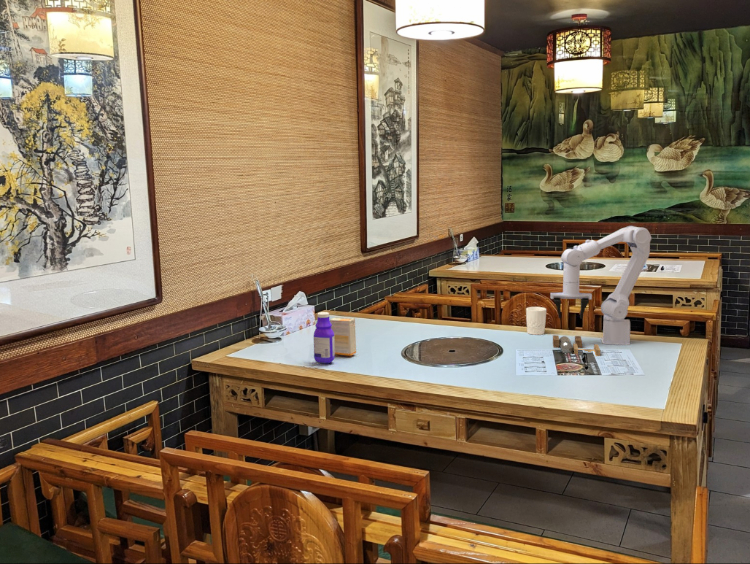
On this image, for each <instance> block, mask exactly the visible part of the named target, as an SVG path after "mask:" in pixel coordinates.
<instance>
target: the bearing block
mask: <svg viewBox="0 0 750 564" xmlns="http://www.w3.org/2000/svg"><path fill="white" fill-rule="evenodd" d="M559 339H560V336H559V335H558V334H557V335H555V334H554V335H552V347H553V349H559V348H560V344H559ZM574 344H577V346H578V349H583V340H582V336H581V335H575V336H574Z"/></svg>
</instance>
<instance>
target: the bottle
mask: <svg viewBox="0 0 750 564" xmlns="http://www.w3.org/2000/svg"><path fill="white" fill-rule="evenodd" d="M316 320H317V321H316V323H315V329H314V332H313V358H314V361H315V362H316V363H324V364H329V363H331V362H333V361H334V360H335V358H336V357H335V355H336V354H335V342H334V332H333V330H332V329H331V326H332V324H331V323H330V320H331V318H330V312H328V311H320V312H318V313H317V319H316Z"/></svg>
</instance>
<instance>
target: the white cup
mask: <svg viewBox="0 0 750 564" xmlns="http://www.w3.org/2000/svg"><path fill="white" fill-rule="evenodd" d="M525 312H526V313H525V314H526V315H525V317H526V332H527V334H528V335H534V336H541V335H544V334H545V331H546V330H545V329H546V328H545V327H546V319H547V308H546V307H543V306H542V307H541V306H529V307H526V308H525Z"/></svg>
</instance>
